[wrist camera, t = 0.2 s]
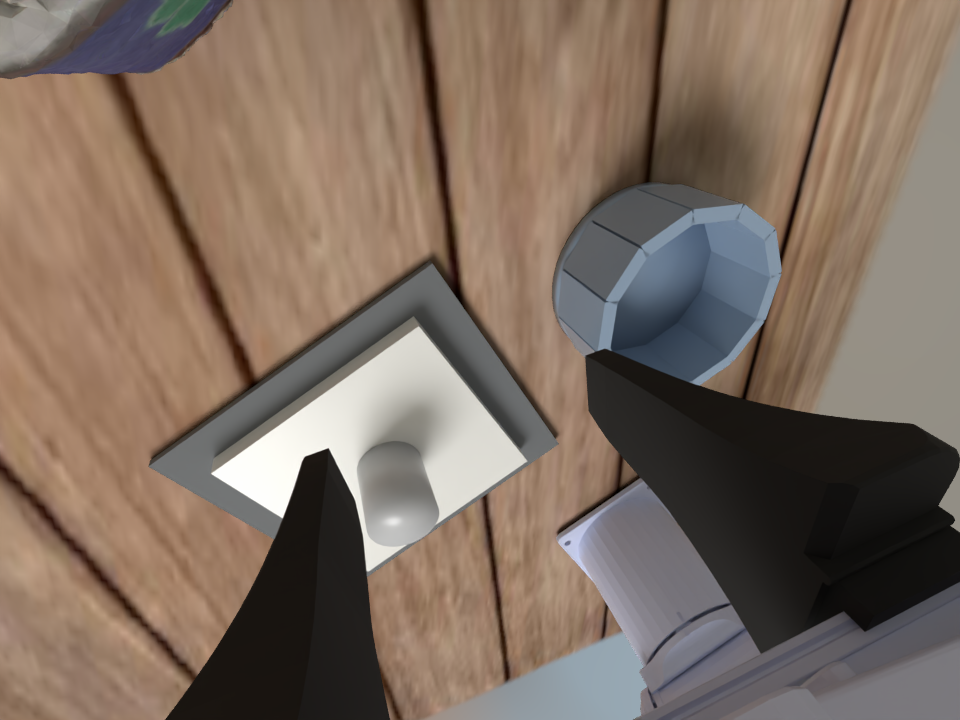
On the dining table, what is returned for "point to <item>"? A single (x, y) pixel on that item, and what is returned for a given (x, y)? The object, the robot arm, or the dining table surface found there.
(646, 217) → the bowl
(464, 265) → the dining table surface
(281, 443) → the lid
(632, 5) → the dining table surface
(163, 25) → the flask
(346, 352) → the mat
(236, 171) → the dining table surface
